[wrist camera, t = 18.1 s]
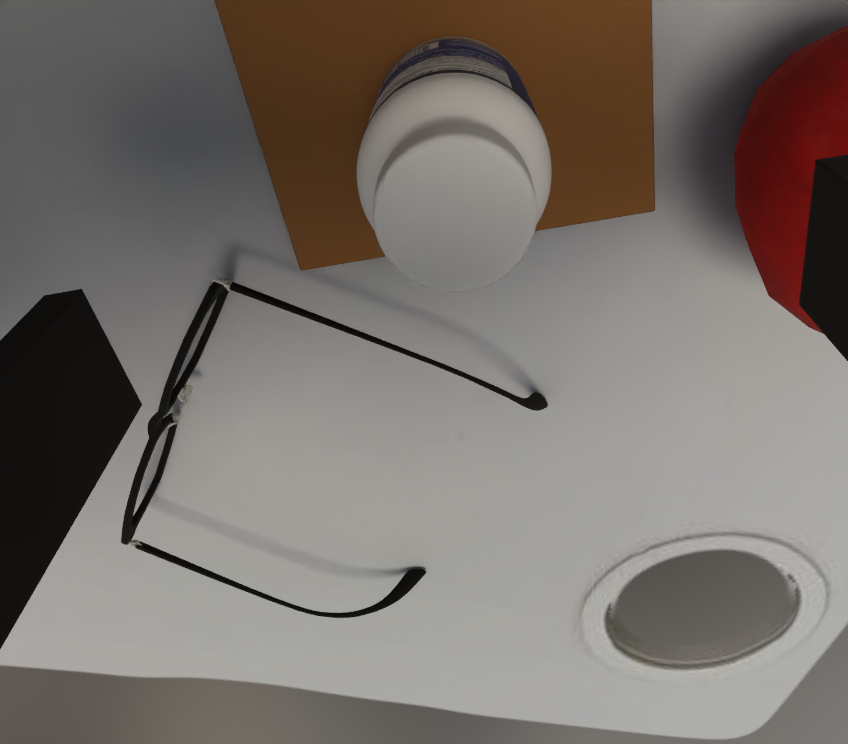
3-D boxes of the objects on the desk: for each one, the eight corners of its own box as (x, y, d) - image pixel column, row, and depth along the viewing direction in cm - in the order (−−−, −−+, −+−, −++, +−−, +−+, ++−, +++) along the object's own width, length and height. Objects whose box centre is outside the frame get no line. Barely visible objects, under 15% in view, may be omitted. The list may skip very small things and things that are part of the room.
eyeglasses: (225, 224, 28) (195, 268, 25) (569, 372, 31) (582, 428, 28) (134, 496, 36) (102, 556, 33) (412, 590, 40) (409, 653, 36)
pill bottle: (517, 196, 27) (546, 327, 18) (374, 184, 26) (340, 310, 18) (541, 40, 24) (589, 114, 15) (380, 25, 23) (343, 93, 15)
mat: (302, 267, 29) (300, 271, 29) (216, -5, 23) (213, -3, 23) (652, 207, 27) (655, 211, 27) (647, -101, 22) (650, -101, 21)
